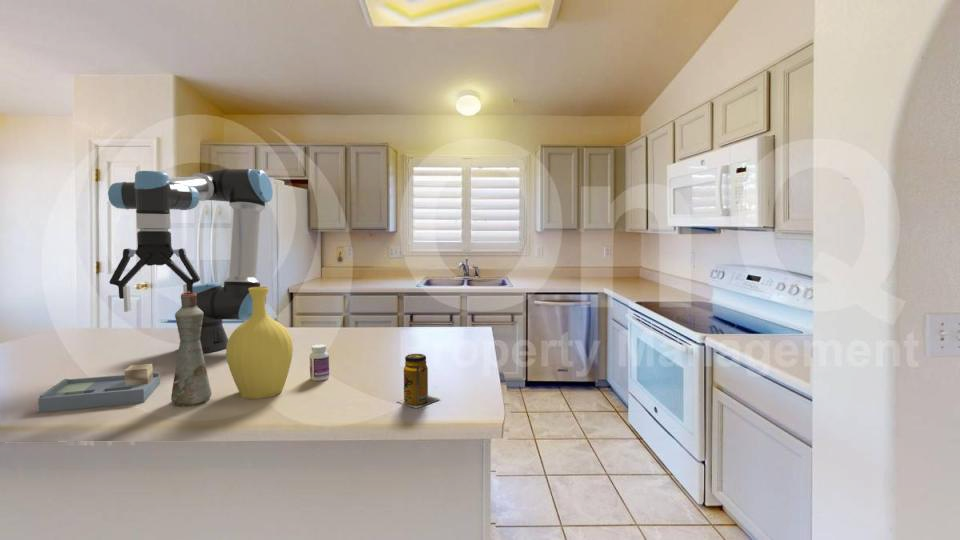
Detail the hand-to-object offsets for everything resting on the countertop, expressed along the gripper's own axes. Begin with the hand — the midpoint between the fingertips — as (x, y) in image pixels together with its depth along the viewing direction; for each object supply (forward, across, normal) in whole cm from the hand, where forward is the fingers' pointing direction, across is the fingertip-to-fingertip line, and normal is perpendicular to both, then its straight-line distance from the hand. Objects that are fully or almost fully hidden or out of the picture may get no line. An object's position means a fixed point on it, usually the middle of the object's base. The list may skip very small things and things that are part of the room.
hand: (157, 309), depth 132 cm
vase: (+22, -26, +13) cm, 36 cm away
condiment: (+22, -64, +34) cm, 75 cm away
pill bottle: (+22, -41, +6) cm, 47 cm away
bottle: (+22, -10, +15) cm, 28 cm away
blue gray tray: (+21, +12, +4) cm, 25 cm away
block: (+19, +5, +1) cm, 20 cm away
